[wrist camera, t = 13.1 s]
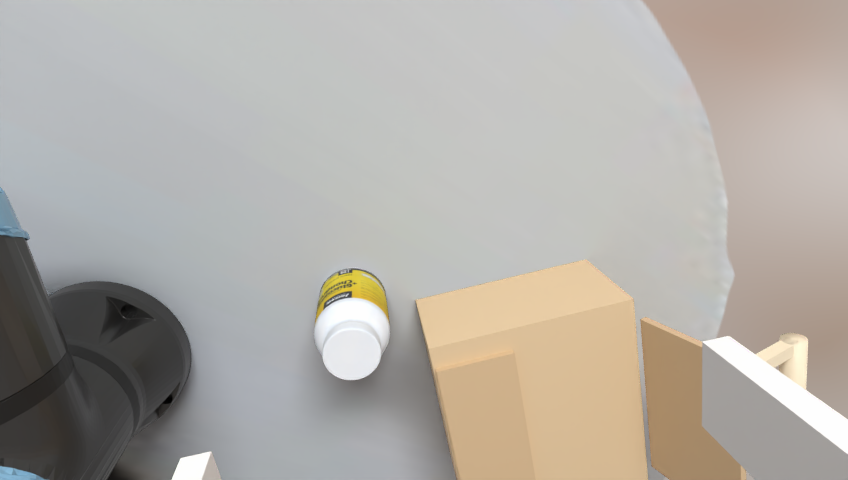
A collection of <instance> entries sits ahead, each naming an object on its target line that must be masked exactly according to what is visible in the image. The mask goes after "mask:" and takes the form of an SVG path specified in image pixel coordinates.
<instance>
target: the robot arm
mask: <svg viewBox="0 0 848 480" xmlns="http://www.w3.org/2000/svg"><path fill="white" fill-rule="evenodd" d="M29 239H30V237H29V234H28V233H27V232H26V231H24V230H22V228H21V226H20V224H19V221H18V219H17V217H16V215H15V213H14V210H13V208H12V206H11V204H10V202H9V199H8V197H7V195H6V193H5V192H4V191H3V189H2V188H1V187H0V480H107V479H108V478H109V476H110V474H111V472H112V471H113V469H114V467H115V465H116V464H117V462H118V460H119V458H120V457H121V455H122V453H123V451H124V450H125V448H126V446H127V444H128V442H129V441H130V439H131V437H133V436H134V435H135V434H137V433H138V432H140V431H141V430H142V429H144V428H145V427H147V426H148V425H149V424H151V423H152V422H154V421H155V420H156V419H158V418H159V417H160V416H162V415H163V414H164V413H165V412H166V411H167V410H168V409H169V408H170V407H171V405H172V404H173V403H174V402H175V400H176V399H177V397H178V395H179V393H180V392H181V390H182V388H183V386H184V384H185V382H186V380H187V377H188V374H189V370H190V364H191V352H190V346H189V342H188V339H187V336H186V333H185V331H184V329H183V327H182V326H181V324H180V322H179V321H178V320H177V318H176V317H175V316H174V315H173V313H172V312H171V311H170V310H169V309H168V308H167V307H166V306H164V305H163V304H162V303H161V302H159V301H158V300H157V299H155V298H154V297H152V296H150V295H149V294H147V293H145V292H143V291H141V290H138V289H136V288H133V287H130V286H127V285H123V284H118V283H112V282H85V283H79V284H75V285H71V286H68V287H65V288H63V289H60V290H58V291H56V292H54V293H53V294H51V295H50V296H48V294H47V292H46V289H45V287H44V284H43V282H42V279H41V277H40V274H39V272H38V269H37V267H36V264H35V262H34V259H33V256H32V254H31V251H30V249H29V246H28V244H27V241H26V240H29ZM702 427H703V428H704V429H705V430H706V431H707V432H708V433H709V434H710V435H711V436H712V437H713V438H714V439H715V440H716V441H717V442H718V443H719V444H720V445H721V446H722V447H723V448H724V449H725V450H726V451H727V452H728V453H729V454H730V455H731V456H732V457H733V458H734V459H735V460H736V461H737V462H738V463H739V464H740V465H741V466H742V467H743V468H744V469H745V470H746V471H747V472H748V473H749V474H750V475H751V476H752V477H753V478H754V479H755V480H848V419H846V418H845V417H843V416H842V415H841V414H839V413H838V412H836V411H835V410H833V409H832V408H830V407H829V406H828V405H826V404H825V403H823V402H822V401H820V400H819V399H818V398H816V397H815V396H814V395H812V394H811V393H809V392H808V391H806V390H805V389H804V388H802V387H801V386H799V385H798V384H796V383H795V382H794V381H792V380H791V379H789V378H788V377H787V376H785V375H784V374H782V373H781V372H779V371H778V370H777V369H775V368H774V367H772V366H771V365H769V364H768V363H767V362H765V361H764V360H762V359H761V358H760V357H758V356H757V355H755V354H754V353H752V352H751V351H750V350H748V349H746V348H745V347H744V346H742V345H741V344H739V343H738V342H737V341H735V340H734V339H733V338H731V337H730V336H726V337H722V338H718V339H713V340H708V341H704V342H702ZM172 480H221V477H220V474H219V471H218V468H217V465H216V463H215V460H214V457H213V454H212V451H211V452H206V453H202V454H197V455H193V456H188V457H184V458H180V461H179V463H178V466H177V468H176V470H175V473H174V475H173V477H172Z"/></svg>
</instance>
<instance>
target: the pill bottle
mask: <svg viewBox="0 0 848 480" xmlns="http://www.w3.org/2000/svg"><path fill="white" fill-rule="evenodd" d="M389 339H390V324H389V316H388V309H387V302H386V294H385V290H384V287H383V285H382V283H381V282H380V280H379V279H378V278H377V277H376V276H375V275H374V274H372V273H371V272H369V271H367V270H364V269H361V268H345V269H342V270H339V271H337V272H335V273H333V274H332V275H331V276H330V277H329V278H328V279H327V280H326V281H325V282H324V284H323V286H322V288H321V291H320V295H319V301H318V307H317V314H316V320H315V327H314V341H315V344H316V347H317V349H318V351H319V353H320V354H321V355H322V358H323V362H324V365H325V367H326V368H327V370H328V371H329V372H330V373H331V374H333V375H334V376H336V377H338V378H340V379H343V380H358V379H362V378H364V377H366V376H368V375H370V374H371V373H372V372H373V371H374V370H375V369H376V368H377V366H378V364H379V362H380V359H381V355H382V354H383V353H384V351H385V349H386V348H387V345H388V343H389Z"/></svg>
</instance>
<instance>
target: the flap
mask: <svg viewBox="0 0 848 480" xmlns="http://www.w3.org/2000/svg"><path fill="white" fill-rule="evenodd" d="M640 320H641V333H642V346H643V359H644V373H645V386H646V399H647V412H648V425H649V438H650V451H651V464H652V467H653V468H655V469H656V470H657V471H659V472H660V473H661V474H663V475H664V476H665V477H667V478H668V479H669V480H746V470H745V469H744V468H743V467H742V466H741V465H740V464H739V463H738V462H737V461H736V460H735V459H734V458H733V457H732V456H731V455H730V454H729V453H728V452H727V451H726V450H725V449H724V448H723V447H722V446H721V445H720V444H719V443H718V442H717V441H716V440H715V439H714V438H713V437H712V436H711V435H710V434H709V433H708V432H707V431H706V430H705V429H704V428H703V427H702V342H701V341H699V340H696V339H694V338H692V337H690V336H687V335H685V334H683V333H681V332H678V331H676V330H674V329H672V328H669V327H667V326H665V325H663V324H660V323H658V322H656V321H654V320H651V319H649V318H647V317H645V318H643V319H640ZM807 352H808V339H807V338H806V337H805V336H803V335H800V334H796V333H786V334H782V335H781V336H780V341H778V342H777V343H775V344H773V345H771V346H770V347H768V348H766V349H764V350H762V351H761V352H759V353H757V354H755V355H757V356H758V357H760V358H761V359H762V360H764V361H765V362H767V363H768V364H769V365H771V366H772V367H774V368H775V367H777V366H778V365H779V372H781V373H782V374H784V375H785V376H787V377H788V378H789V379H791V380H792V381H794V382H795V383H796V384H798V385H799V386H801V387H802V388H804V389H805V390H806V379H807Z"/></svg>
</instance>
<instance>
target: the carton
mask: <svg viewBox="0 0 848 480" xmlns="http://www.w3.org/2000/svg"><path fill="white" fill-rule="evenodd" d="M416 304H417V309H418V313H419V318H420V322H421V327H422V331H423V335H424V340H425V344H426V349H427V353H428V357H429V362H430V366H431V371H432V375H433V380H434V384H435V388H436V393H437V397H438V402H439V406H440V411H441V415H442V419H443V424H444V428H445V433H446V437H447V442H448V446H449V450H450V455H451V459H452V463H453V467H454V471H455V475H456V479H457V480H648V473H647V461H646V448H645V436H644V423H643V411H642V398H641V386H640V374H639V361H638V349H637V336H636V324H635V311H634V299H633V298H632V297H631V296H629V295H628V294H627V293H626V292H625V291H623V290H622V289H621V288H620V287H619V286H617V285H616V284H615V283H614V282H613V281H611V280H610V279H609V278H608V277H606V276H605V275H604V274H603V273H602V272H600V271H599V270H598V269H597V268H596V267H594V266H593V265H592V264H591V263H590V262H588V261H587V260H582V261H577V262H573V263H569V264H565V265H561V266H556V267H552V268H548V269H544V270H540V271H535V272H531V273H527V274H523V275H519V276H514V277H510V278H506V279H502V280H497V281H493V282H489V283H485V284H481V285H476V286H472V287H468V288H464V289H460V290H455V291H451V292H447V293H443V294H439V295H434V296H430V297H426V298H422V299H418V300H416Z"/></svg>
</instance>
